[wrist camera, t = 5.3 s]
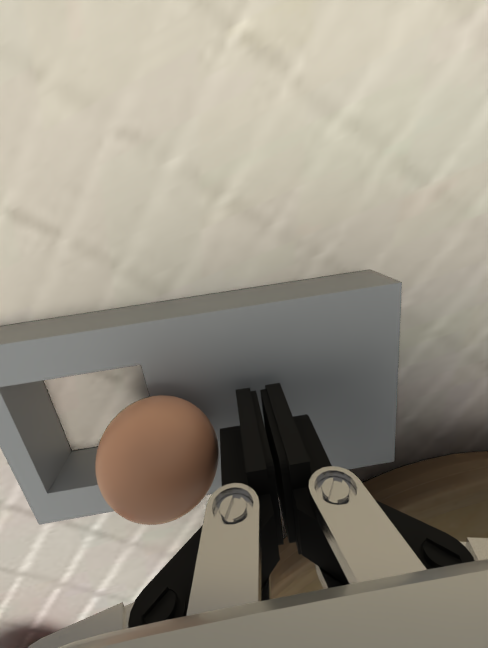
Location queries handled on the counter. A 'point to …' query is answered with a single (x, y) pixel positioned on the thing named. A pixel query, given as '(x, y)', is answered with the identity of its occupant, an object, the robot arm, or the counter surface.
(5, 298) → the counter surface
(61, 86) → the counter surface
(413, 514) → the plant saucer
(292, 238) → the counter surface
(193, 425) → the ball
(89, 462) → the block
